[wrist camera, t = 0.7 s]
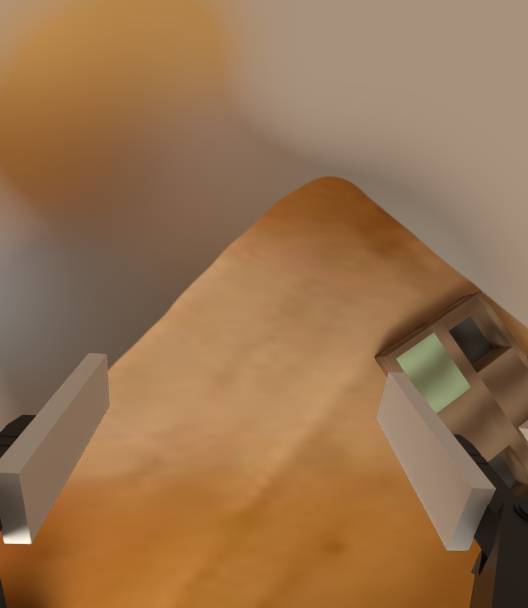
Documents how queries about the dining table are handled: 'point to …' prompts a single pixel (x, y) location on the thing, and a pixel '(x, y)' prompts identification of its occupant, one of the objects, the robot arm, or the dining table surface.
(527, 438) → the block
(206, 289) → the dining table surface
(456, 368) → the board
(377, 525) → the dining table surface
